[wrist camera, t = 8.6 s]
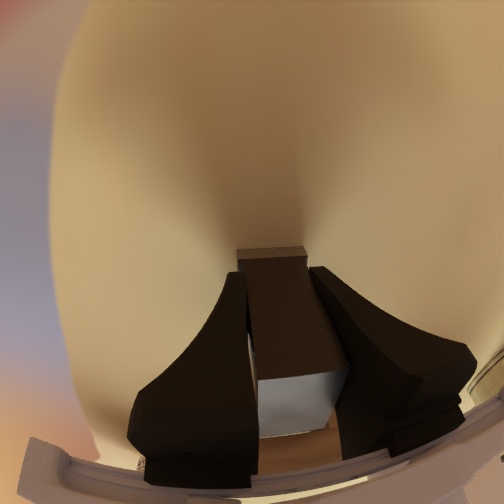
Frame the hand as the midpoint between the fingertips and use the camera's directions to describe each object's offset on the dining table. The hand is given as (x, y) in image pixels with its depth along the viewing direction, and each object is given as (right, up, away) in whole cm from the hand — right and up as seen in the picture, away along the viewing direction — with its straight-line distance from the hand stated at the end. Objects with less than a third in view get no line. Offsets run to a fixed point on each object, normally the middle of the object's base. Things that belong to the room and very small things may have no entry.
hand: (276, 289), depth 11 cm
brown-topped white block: (0, -5, +5) cm, 7 cm away
